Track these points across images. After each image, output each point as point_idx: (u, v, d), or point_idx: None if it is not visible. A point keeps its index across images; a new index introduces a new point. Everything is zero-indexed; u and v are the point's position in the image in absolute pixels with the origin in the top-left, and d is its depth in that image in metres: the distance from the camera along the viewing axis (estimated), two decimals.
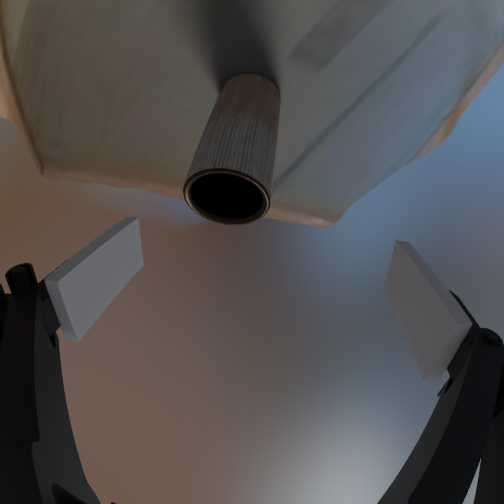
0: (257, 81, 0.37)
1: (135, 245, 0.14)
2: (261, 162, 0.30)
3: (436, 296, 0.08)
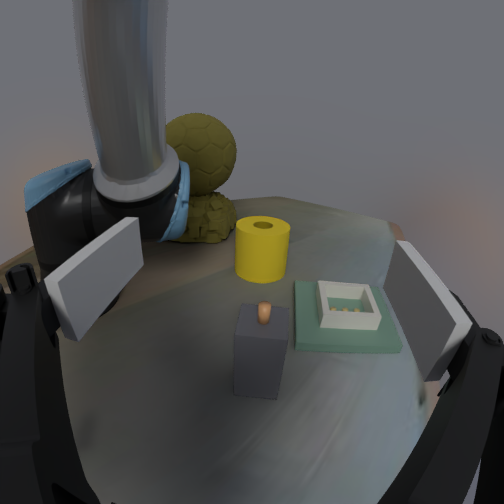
0: None
1: (135, 245, 0.14)
2: None
3: (436, 296, 0.08)
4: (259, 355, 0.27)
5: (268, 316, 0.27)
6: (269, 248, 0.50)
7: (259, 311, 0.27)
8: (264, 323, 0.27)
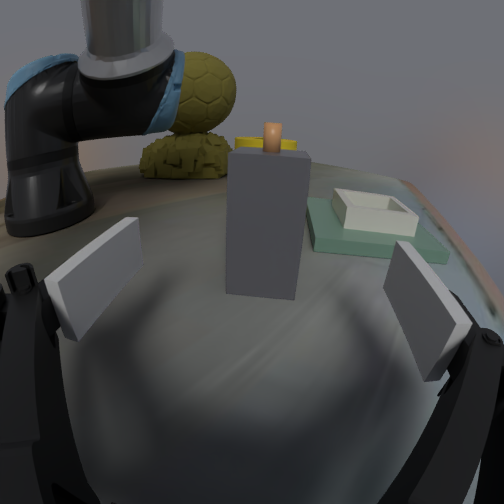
0: None
1: (135, 245, 0.14)
2: None
3: (436, 296, 0.08)
4: (266, 193, 0.17)
5: (279, 139, 0.18)
6: None
7: (265, 130, 0.18)
8: (273, 149, 0.18)
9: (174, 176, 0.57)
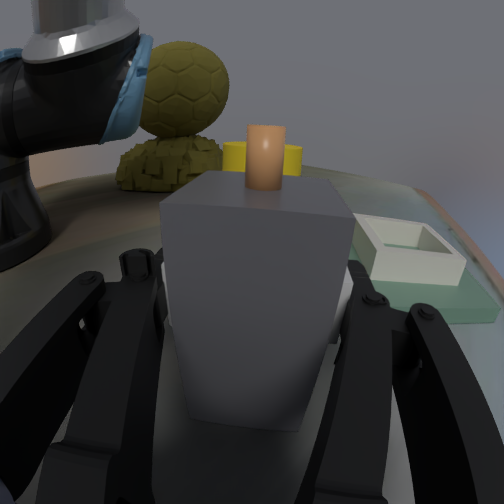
0: None
1: None
2: None
3: None
4: (249, 292, 0.08)
5: (279, 161, 0.08)
6: None
7: (250, 143, 0.08)
8: (266, 185, 0.09)
9: (154, 189, 0.47)
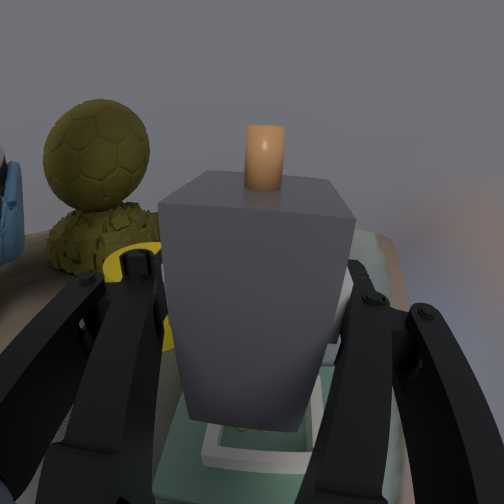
0: None
1: None
2: None
3: None
4: (248, 293, 0.08)
5: (278, 161, 0.08)
6: None
7: (249, 143, 0.08)
8: (266, 185, 0.08)
9: (76, 273, 0.43)
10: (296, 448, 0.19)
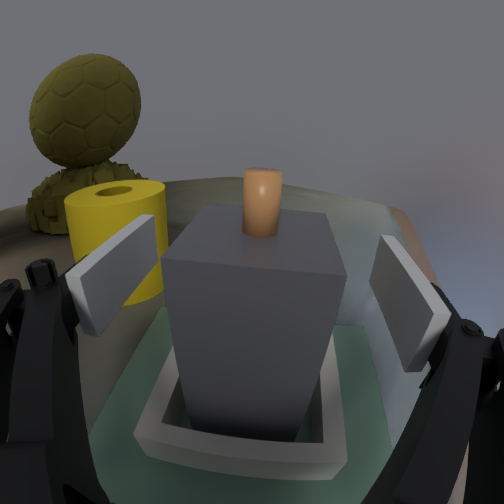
0: None
1: (151, 242, 0.14)
2: None
3: (416, 287, 0.09)
4: (246, 335, 0.08)
5: (275, 209, 0.09)
6: (103, 235, 0.21)
7: (246, 191, 0.09)
8: (263, 233, 0.09)
9: (53, 232, 0.37)
10: (296, 438, 0.12)
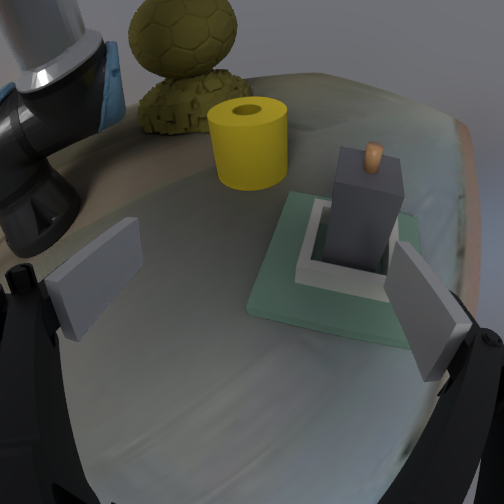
0: None
1: (135, 245, 0.14)
2: None
3: (436, 296, 0.08)
4: (363, 214, 0.20)
5: (378, 162, 0.18)
6: (248, 144, 0.31)
7: (367, 154, 0.18)
8: (372, 172, 0.19)
9: (170, 133, 0.49)
10: None
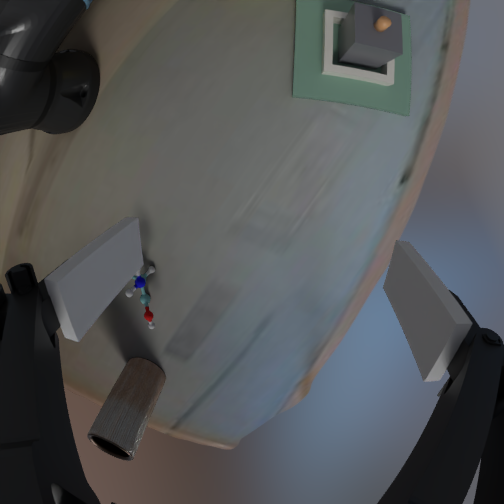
0: (143, 367, 0.55)
1: (135, 245, 0.14)
2: (125, 435, 0.41)
3: (436, 296, 0.08)
4: (372, 52, 0.22)
5: (386, 28, 0.18)
6: None
7: (379, 25, 0.18)
8: (381, 31, 0.19)
9: None
10: None
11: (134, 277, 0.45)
